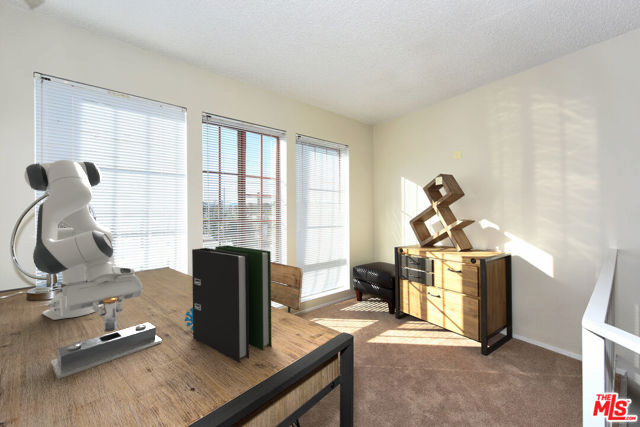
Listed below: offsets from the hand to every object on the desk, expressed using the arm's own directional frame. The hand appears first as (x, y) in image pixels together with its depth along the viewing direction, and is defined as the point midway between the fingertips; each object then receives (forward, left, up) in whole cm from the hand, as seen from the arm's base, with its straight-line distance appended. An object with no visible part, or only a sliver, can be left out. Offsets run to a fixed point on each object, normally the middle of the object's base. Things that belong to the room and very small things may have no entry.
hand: (111, 312), depth 86 cm
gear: (+12, +25, -13) cm, 31 cm away
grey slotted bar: (-1, 0, -13) cm, 13 cm away
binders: (+32, +18, -13) cm, 39 cm away
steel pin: (-1, 0, -6) cm, 6 cm away
